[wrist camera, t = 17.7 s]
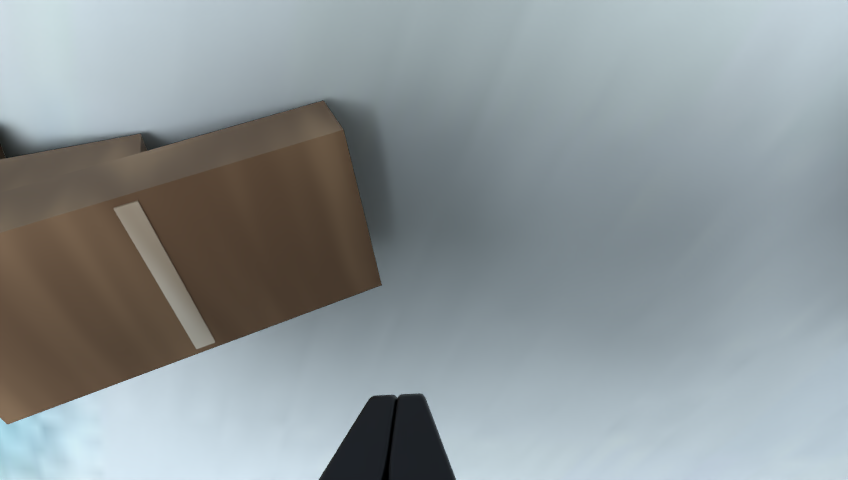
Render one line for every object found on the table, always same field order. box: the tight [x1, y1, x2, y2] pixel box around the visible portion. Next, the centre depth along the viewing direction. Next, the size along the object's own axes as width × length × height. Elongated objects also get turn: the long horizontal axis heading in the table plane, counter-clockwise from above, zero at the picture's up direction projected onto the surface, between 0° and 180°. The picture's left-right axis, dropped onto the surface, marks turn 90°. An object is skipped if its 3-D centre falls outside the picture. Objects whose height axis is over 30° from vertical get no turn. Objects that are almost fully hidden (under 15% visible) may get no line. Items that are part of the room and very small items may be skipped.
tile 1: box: [0, 101, 382, 424], centre depth 14 cm, size 2×5×10 cm
